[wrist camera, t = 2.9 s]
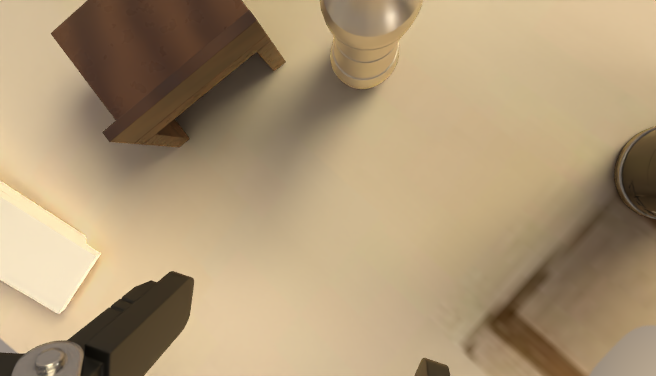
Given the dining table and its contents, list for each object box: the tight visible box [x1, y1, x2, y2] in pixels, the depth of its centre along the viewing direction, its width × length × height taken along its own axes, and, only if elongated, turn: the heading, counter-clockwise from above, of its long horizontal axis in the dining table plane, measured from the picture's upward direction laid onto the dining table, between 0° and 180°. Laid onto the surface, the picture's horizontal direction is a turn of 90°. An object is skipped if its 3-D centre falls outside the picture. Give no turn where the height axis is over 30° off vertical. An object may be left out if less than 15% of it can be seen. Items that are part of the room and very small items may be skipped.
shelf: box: [51, 0, 286, 147], centre depth 32 cm, size 15×12×11 cm
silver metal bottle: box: [320, 0, 423, 89], centre depth 26 cm, size 6×7×20 cm
